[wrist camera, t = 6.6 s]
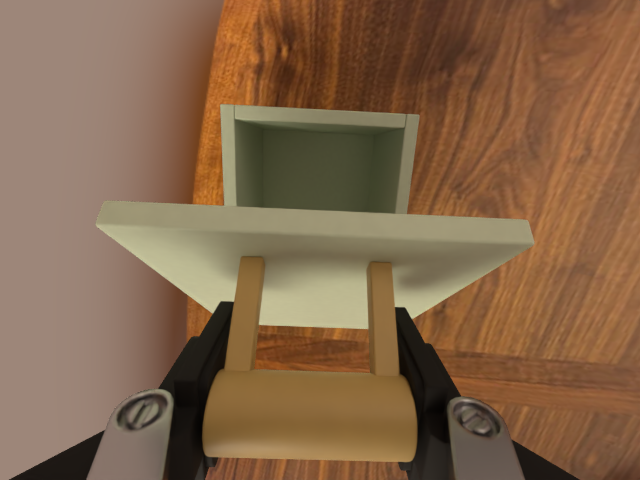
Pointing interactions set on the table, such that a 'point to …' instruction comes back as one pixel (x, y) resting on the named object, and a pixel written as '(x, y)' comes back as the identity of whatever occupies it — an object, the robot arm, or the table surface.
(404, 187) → the chest
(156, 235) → the lid
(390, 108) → the table surface
